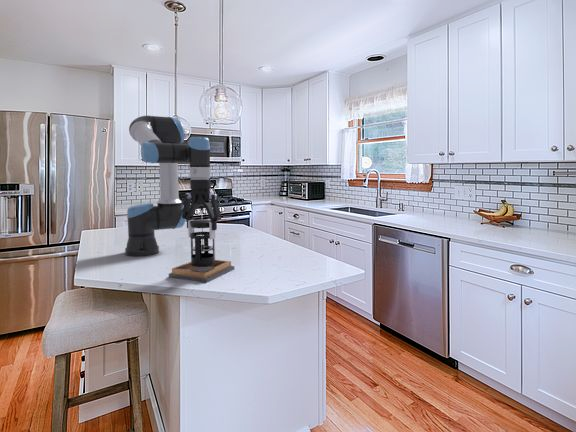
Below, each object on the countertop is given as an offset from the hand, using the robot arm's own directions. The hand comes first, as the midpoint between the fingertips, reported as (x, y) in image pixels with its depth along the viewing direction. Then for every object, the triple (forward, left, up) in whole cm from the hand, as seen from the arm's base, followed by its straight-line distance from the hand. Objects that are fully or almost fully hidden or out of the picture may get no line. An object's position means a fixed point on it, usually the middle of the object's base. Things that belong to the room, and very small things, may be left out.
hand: (201, 237), depth 137 cm
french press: (0, 0, -11) cm, 11 cm away
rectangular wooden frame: (0, 0, -14) cm, 14 cm away
